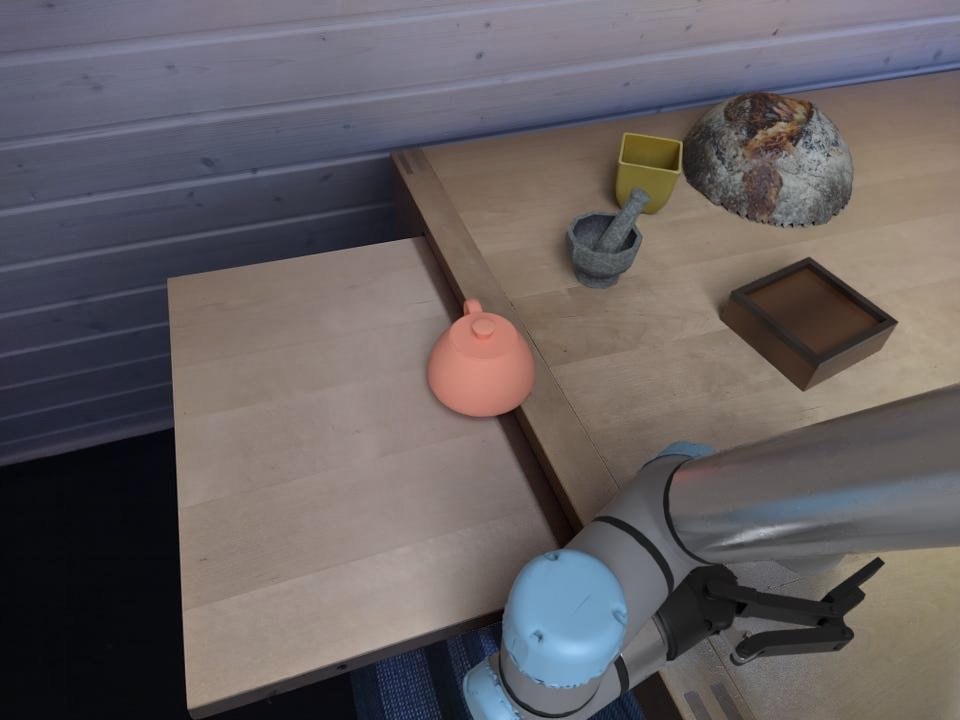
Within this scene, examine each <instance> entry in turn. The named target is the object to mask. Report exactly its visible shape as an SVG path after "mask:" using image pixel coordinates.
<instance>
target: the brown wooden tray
mask: <svg viewBox="0 0 960 720" xmlns="http://www.w3.org/2000/svg"><path fill="white" fill-rule="evenodd" d="M720 320H721V321H722V323H724V324H725V325H726V326H727V327H728V328H729V329H731V330H732V332H734V333H735V334H736V335H738V336H739V337H740V338H741V339H742V340H743V341H744V342H745V343H747V344H748V345H749V346H750V347H752V349H754V351H756V352H757V353H758V354H759V355H760V356H761V357H763V358H764V359H765V360H767V362H768V363H770V364H771V365H772V366H773V367H774V368H775V369H776V370H778V371H779V372H780V373H781V374H782V375H784V377H786V378H787V379H788V380H789V381H790V382H791V383H792V384H793V385H795V386H796V387H797V388H798V389H799V390H800V391H801V392H802V393H805V392H807V391H809V390H810V389H812V388H813V387H815V386H818V385H819V384H821V383H823V382H824V381H826V380H828V379H831V378H832V377H833V376H836V375H838V374H839V373H841V372H843V371H845V370H848V368H851V367H852V366H854V365H855V364H858V363H859V362H861V361H863V360H865V359H867V358H868V357H870V356H872V355H874V354H876V353H878V352H879V351H881V350H882V349H883V347H884V346H885V344H886V343H887V341H888V340H889V338H890V336H891V335H892V333H893V332H894V330H895V329H896V328H897V325H899V323H900V321H898V320H897V319H896V318H894V317H893V316H892V315H890V314H889V313H888V312H886V311H885V310H884V309H882V308H881V307H879V306H878V305H876V304H875V303H874V302H872V301H871V300H870V299H868V298H866V297H865V296H864V295H863V294H861V293H860V292H859V291H857V290H856V289H854V288H853V287H852V286H850V285H849V284H848V283H846V282H845V281H843V280H842V279H841V278H840V277H838V276H837V275H835V274H834V273H833V272H831V271H830V270H829V269H827V268H826V267H824V266H823V265H822V264H820V263H819V262H818V261H817V260H815V259H813V258H812V257H811V256H807V257H805V258H803V259H801V260H797V261H796V262H794V263H791V264H789V265H787V266H785V267H782V268H780V269H778V270H776V271H774V272H772V273H769V274H767V275H764V276H762V277H760V278H758V279H755V280H753V281H751V282H749V283H747V284H744V285H742V286H740V287H738V288H735V289H733V290H732V291H731V292H730V294H729V297H728V300H727V302H726V304H725V306H724V310H723V312H722V315H721V317H720Z"/></svg>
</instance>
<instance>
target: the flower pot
mask: <svg viewBox="0 0 960 720" xmlns="http://www.w3.org/2000/svg"><path fill="white" fill-rule="evenodd" d="M683 143H684V142H683V141H682V140H678V139H672V138H666V137H660V136H654V135H647V134H641V133H636V132H635V133H634V132H623V134H622V139H621V146H620V152H619V156H618V161H617V169H616V181H615V196H616V200H617V203H618V206H619V208H620V209H622V207H623V206H624V204H625V203H626V202H627V200H628V199H629V197H630V192H631V191H632V189H633V188H639V189H641V190H643V191H645V192H646V193H648V194H649V196H650V197H651V200H650V201H649V203H648V204H646V205H645V206H644V207H643V209H642V211H641V213H643V214H648V215H655V214H656V213H658V212H659V211H660V210H661V209H662V208H664V207H665V205H666V204H667V203H668V201H669V200H670V198H671V196H672V193H673V191H674V189H675V187H676V184H677V183H678V180H679V177H680V176H681V173H682V163H683V160H682V159H683V149H684V148H683V147H684V144H683Z"/></svg>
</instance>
